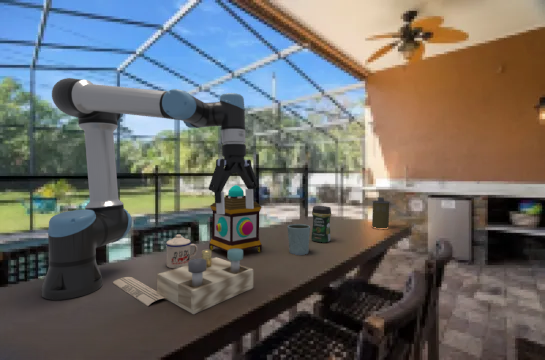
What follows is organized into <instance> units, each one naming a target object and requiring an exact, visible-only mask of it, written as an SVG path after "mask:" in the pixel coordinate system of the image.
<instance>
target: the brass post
mask: <svg viewBox="0 0 545 360" xmlns="http://www.w3.org/2000/svg"><path fill="white" fill-rule="evenodd" d="M212 253H213V250H210V249H208V248H207V249H203V250H201V259H205V260H206V268H208V267H211V262H212V258H213V257H212V256H213V255H212Z"/></svg>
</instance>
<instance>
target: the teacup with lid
mask: <svg viewBox="0 0 545 360" xmlns="http://www.w3.org/2000/svg"><path fill="white" fill-rule="evenodd" d="M165 246H166V267H167V268H169V269H177V268H180V267H184V266H187V265H188V261H189V260H191V257H194V256H195V255H197V253H198V246H197V244H194V243H191V240H190V239H189V238H185V237H183V236H182V235H181V234H176V235H175V237H173V238H171V239H169V240H166V243H165ZM191 247H194V251H193V253H192V254H191Z"/></svg>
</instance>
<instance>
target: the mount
mask: <svg viewBox="0 0 545 360" xmlns="http://www.w3.org/2000/svg"><path fill="white" fill-rule="evenodd" d="M156 275H157V277H156V279H157V281H156V282H157V284H156V285H157V286H156V287H157V289H156V291H157V292H158V293H160V294H161V295H163V296H165V297H167V300H166V301H169V302H170V303H173V305H176V306H177V307H180V308H181V309H183V310H185V311H187V312H188V313H190V314H192V315H195V314H198V313H199V312H203V311H204V310H207V309H210V308H211V307H213V306H215V305H218V304H220V303H222V302H224V301H227V300H229V299H231V298H233V297H236V296H238V295H240V294H241V295H242V294H243V293H245V292H247V291H250V290H252V289H254V269H253V268H251V267H248V266H245V265H241V264H240V271H239V272H236V273H233V272H231V260H226V259H223V258H221V257H220V258H219V257H217V256H216V257H212V262H211V267H208V268H206V271H204V272H203V284H202V285H201V286H192V273H191V272H189V271H188V265H187V266H184V267H180V268H172V269H170V270H167V271H164V272H160V273H156Z"/></svg>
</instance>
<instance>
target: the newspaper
mask: <svg viewBox="0 0 545 360" xmlns="http://www.w3.org/2000/svg"><path fill="white" fill-rule="evenodd" d="M112 284H113V285H115V286H116V287H118V288H119V289H121V290H122V291H124V292H125V293H127V294H128V295H129V296H132V298H134V299H136V300H137V301H139V302H140V303H141V304H143V305H145V306H147V307H150V305H151V304H152V303H154V302H156V301H159V300H162V299H164V300H166V301H168V300H167V297H165V296H163V295H161V294H160V293H158V292H157V290H155V289H153V288H152V287H150V286H148V285H147V284H145V283H143V282H141V281H139V280H138V279H136V278H134V277H132V276H125V277H121V278H118V279H115V280H114V281H112Z"/></svg>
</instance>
